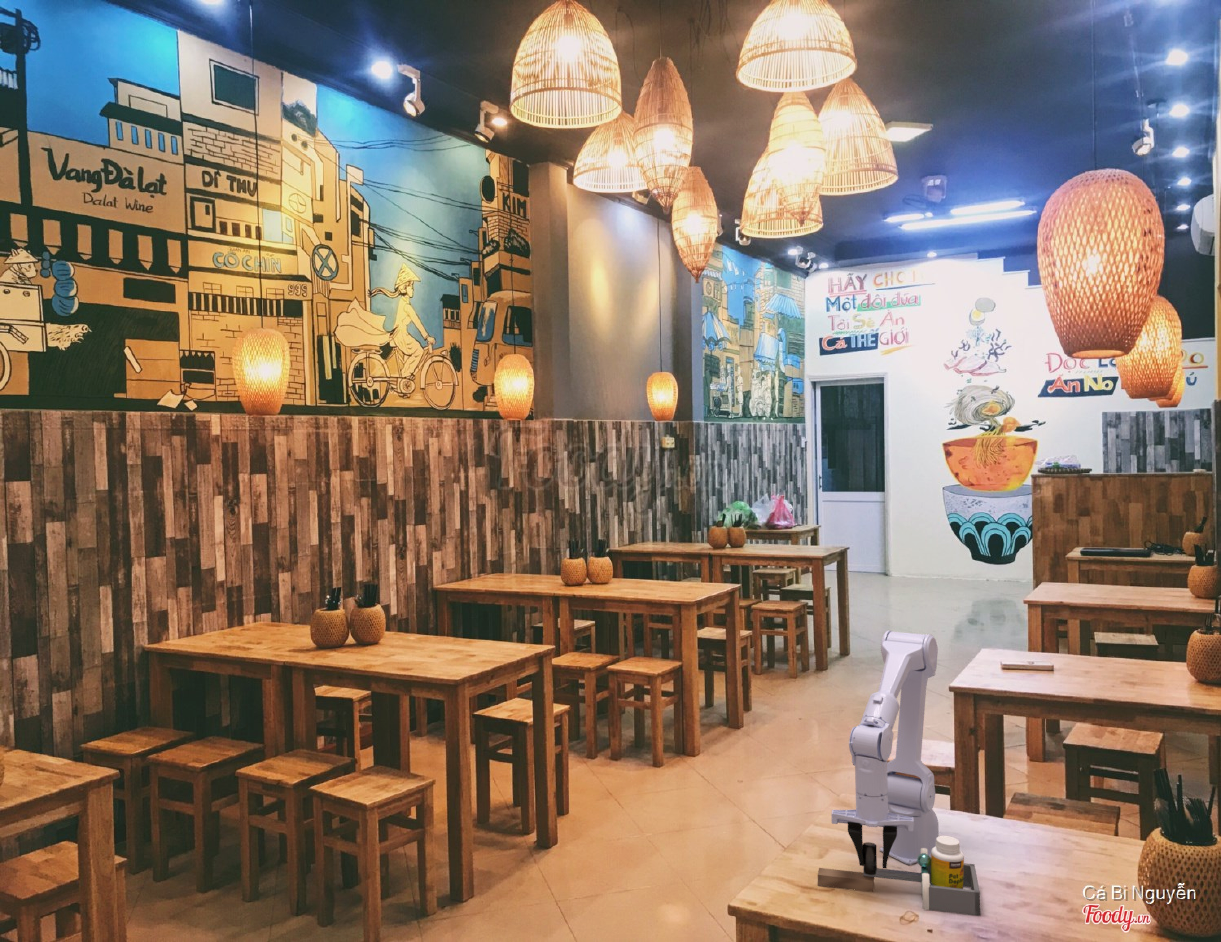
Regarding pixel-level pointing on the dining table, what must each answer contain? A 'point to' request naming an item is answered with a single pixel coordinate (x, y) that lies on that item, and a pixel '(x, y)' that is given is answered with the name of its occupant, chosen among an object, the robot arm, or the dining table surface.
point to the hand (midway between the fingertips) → (873, 864)
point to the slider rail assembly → (873, 871)
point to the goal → (952, 893)
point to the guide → (845, 880)
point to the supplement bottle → (947, 863)
